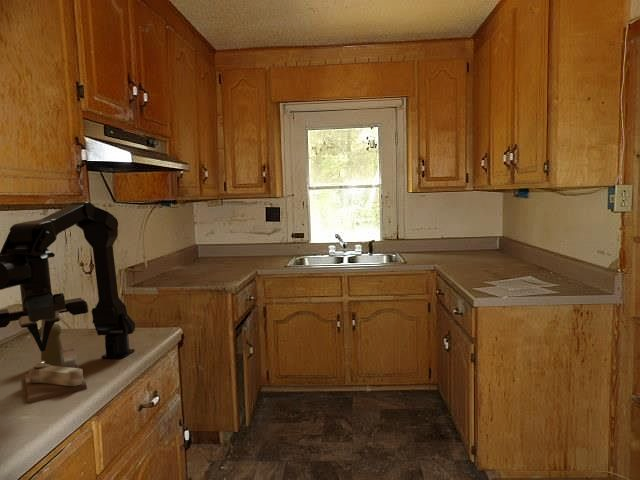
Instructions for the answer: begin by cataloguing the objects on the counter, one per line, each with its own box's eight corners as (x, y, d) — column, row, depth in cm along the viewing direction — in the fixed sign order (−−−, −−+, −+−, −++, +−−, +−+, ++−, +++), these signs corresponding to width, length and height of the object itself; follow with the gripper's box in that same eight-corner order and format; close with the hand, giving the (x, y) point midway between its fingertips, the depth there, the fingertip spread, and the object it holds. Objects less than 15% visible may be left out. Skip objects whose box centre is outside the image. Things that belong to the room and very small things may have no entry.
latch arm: (25, 382, 111) (24, 369, 111) (41, 375, 115) (40, 363, 115) (73, 387, 106) (72, 375, 106) (89, 380, 110) (87, 367, 110)
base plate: (25, 378, 117) (24, 374, 117) (76, 367, 123) (76, 363, 123) (28, 402, 102) (28, 398, 102) (86, 388, 109) (86, 384, 109)
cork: (60, 359, 131) (56, 320, 129) (70, 363, 127) (66, 323, 126) (36, 365, 126) (32, 325, 125) (45, 370, 122) (41, 329, 121)
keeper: (35, 388, 110) (33, 364, 109) (32, 379, 116) (30, 356, 116) (79, 378, 115) (77, 354, 115) (74, 369, 122) (72, 347, 121)
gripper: (-17, 293, 90) (-8, 372, 91) (90, 279, 101) (96, 349, 102) (-19, 285, 98) (-10, 357, 100) (79, 273, 110) (86, 338, 111)
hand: (42, 350), depth 103 cm, fingers closed
